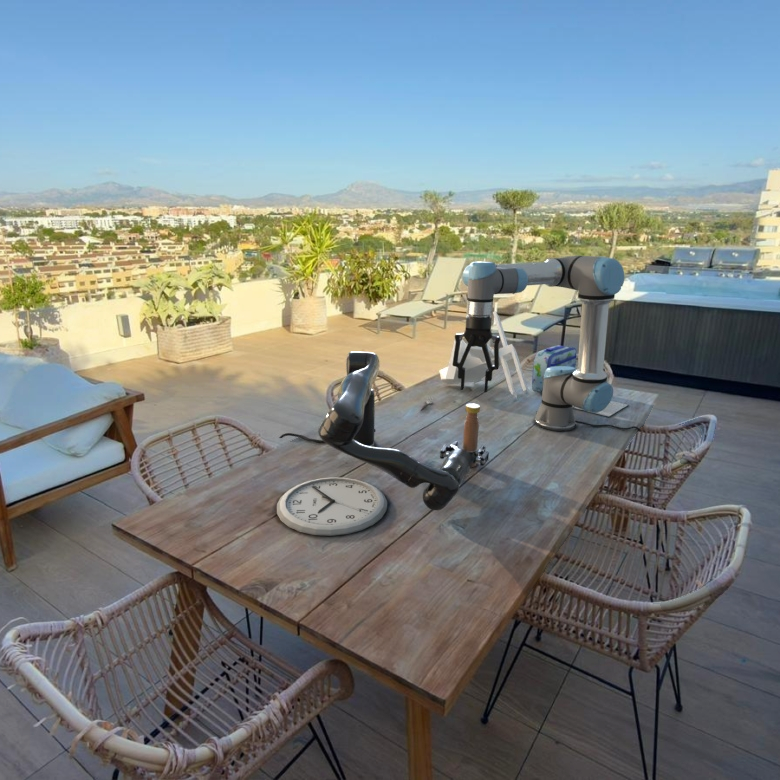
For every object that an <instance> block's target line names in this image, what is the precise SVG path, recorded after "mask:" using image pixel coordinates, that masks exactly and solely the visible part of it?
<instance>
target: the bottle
mask: <svg viewBox="0 0 780 780" xmlns="http://www.w3.org/2000/svg"><path fill="white" fill-rule="evenodd" d="M479 430H480V422H479V415H478V413H468V412H467V413H466V416H465V419H464V424H463V439H462V449H463V450H465V451H467V450H469V451H470V450H474V449H476V450H478V443H479ZM473 454H474V453H473ZM476 466H477V462H475V463H474V464H473V465H472V467H471V468H475V467H476Z"/></svg>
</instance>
